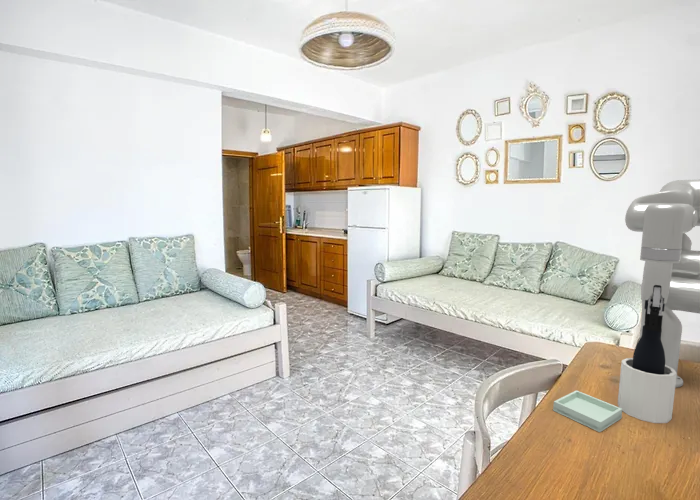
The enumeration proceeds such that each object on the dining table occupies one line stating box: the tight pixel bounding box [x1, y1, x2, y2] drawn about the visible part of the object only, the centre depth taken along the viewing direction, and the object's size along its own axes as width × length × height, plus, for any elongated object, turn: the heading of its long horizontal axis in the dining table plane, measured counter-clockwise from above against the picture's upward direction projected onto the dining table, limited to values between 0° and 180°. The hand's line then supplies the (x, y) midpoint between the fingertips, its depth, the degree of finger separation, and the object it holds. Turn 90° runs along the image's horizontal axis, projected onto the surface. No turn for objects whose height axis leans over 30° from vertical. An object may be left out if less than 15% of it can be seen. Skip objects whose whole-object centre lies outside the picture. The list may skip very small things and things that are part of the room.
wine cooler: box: [617, 357, 678, 424], centre depth 96 cm, size 11×11×12 cm
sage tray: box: [552, 390, 623, 433], centre depth 95 cm, size 11×11×2 cm
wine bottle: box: [632, 299, 665, 375], centre depth 95 cm, size 6×6×30 cm
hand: (652, 327), depth 94 cm, fingers closed on wine bottle, 3 cm apart
